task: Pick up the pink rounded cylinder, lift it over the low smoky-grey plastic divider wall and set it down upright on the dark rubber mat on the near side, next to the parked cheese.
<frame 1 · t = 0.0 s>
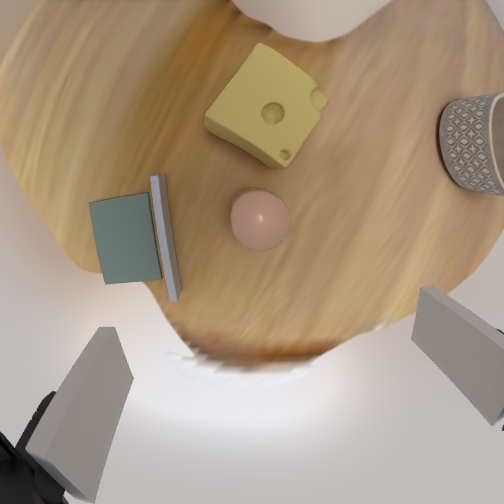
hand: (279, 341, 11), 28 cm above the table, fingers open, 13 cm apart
pink rounded cylinder: (252, 210, 37), on the table
mat: (125, 240, 37), on the table
cheese: (260, 119, 34), on the table
planter: (463, 144, 37), on the table
divider wall: (168, 234, 37), on the table
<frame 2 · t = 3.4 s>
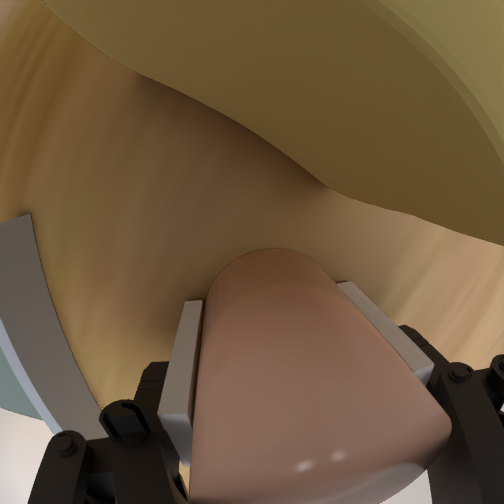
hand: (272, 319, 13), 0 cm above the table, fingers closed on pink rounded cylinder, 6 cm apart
pink rounded cylinder: (271, 312, 13), on the table, touching gripper
mat: (0, 349, 12), on the table
cheese: (294, 43, 10), on the table
divider wall: (66, 356, 13), on the table
when the fingers open (2 cm above the table, at t = 8.8 s): pink rounded cylinder drops 1 cm, resting on mat.
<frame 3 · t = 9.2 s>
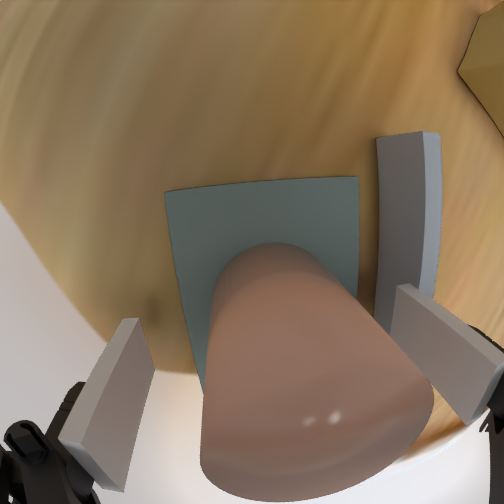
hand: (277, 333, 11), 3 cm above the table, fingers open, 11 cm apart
pink rounded cylinder: (273, 301, 14), point 1 cm above the table, touching mat
mat: (272, 299, 15), on the table
cheese: (501, 85, 12), on the table
divider wall: (383, 283, 15), on the table
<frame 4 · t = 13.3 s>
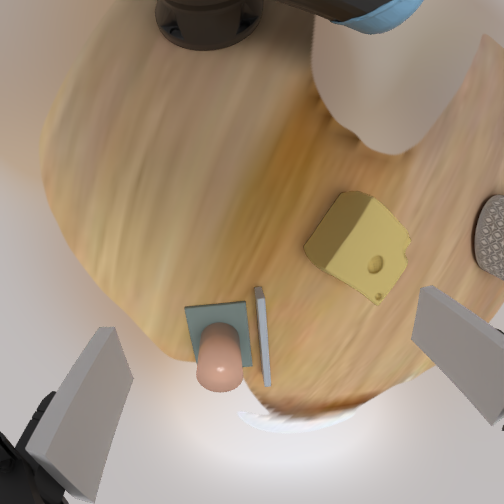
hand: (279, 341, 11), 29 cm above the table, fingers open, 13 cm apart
pink rounded cylinder: (220, 338, 42), point 1 cm above the table, touching mat
mat: (220, 337, 43), on the table
cheese: (344, 237, 41), on the table
planter: (491, 232, 44), on the table
divider wall: (261, 333, 43), on the table
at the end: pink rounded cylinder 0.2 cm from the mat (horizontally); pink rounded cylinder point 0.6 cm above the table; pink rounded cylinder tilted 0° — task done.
